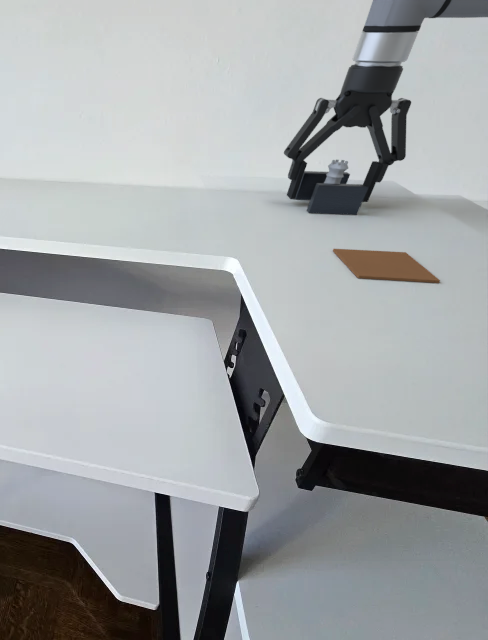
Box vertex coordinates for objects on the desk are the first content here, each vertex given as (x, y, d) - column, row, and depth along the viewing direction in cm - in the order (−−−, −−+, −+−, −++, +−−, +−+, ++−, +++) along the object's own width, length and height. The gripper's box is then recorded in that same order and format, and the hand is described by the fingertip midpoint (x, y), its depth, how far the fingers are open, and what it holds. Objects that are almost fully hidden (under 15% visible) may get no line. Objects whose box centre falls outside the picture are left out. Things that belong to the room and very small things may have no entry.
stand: (337, 198, 97) (347, 172, 94) (356, 215, 89) (368, 186, 86) (293, 197, 99) (302, 170, 96) (308, 213, 91) (319, 185, 88)
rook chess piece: (339, 210, 92) (357, 164, 87) (312, 208, 93) (329, 163, 88) (334, 202, 95) (351, 159, 90) (308, 201, 96) (323, 157, 92)
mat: (404, 254, 75) (405, 252, 75) (439, 283, 67) (440, 280, 67) (332, 250, 77) (333, 248, 76) (357, 278, 69) (359, 275, 68)
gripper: (448, 61, 81) (388, 195, 94) (291, 62, 85) (253, 190, 98) (474, 65, 75) (406, 207, 88) (304, 66, 80) (262, 202, 92)
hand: (326, 198), depth 93 cm, fingers open, 12 cm apart
